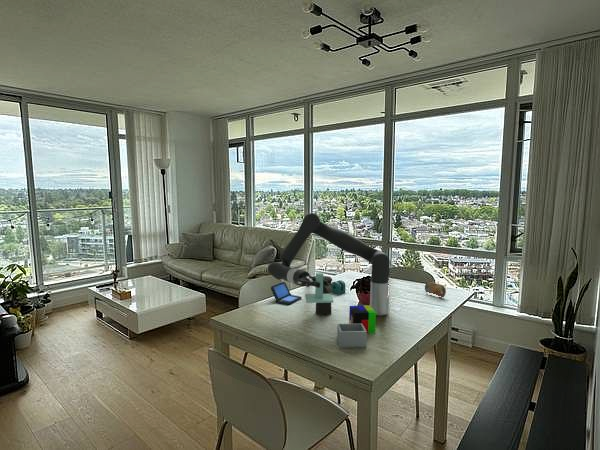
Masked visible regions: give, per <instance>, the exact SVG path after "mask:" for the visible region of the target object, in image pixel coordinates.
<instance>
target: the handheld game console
mask: <svg viewBox="0 0 600 450" xmlns="http://www.w3.org/2000/svg"><path fill="white" fill-rule="evenodd" d="M270 290H271V292H272V294H273V297H274V299H275V303H276V304H281V305H286V306H291V305H292V304H294V303H297V302H299V301H300V300H302V298H303V297H302V296H299V295H294V294H292V293H291V292H290V290H289V288H288V285H287V283H286V281H283V282H282V281H281V282H279V283H277V284H274V285H271V286H270Z"/></svg>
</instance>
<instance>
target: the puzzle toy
mask: <svg viewBox="0 0 600 450" xmlns="http://www.w3.org/2000/svg"><path fill="white" fill-rule="evenodd" d="M376 316H377V315H376V312H375V311H374V310H373V309H372V307H371V306H370V304H368V305H367V304H365V305H349V318H348V319H349V322H348V324H361V323H362V324H363V326H364V328H365V330H366V331H367V334H376V326H377V325H376V323H377V322H376V319H377V317H376Z"/></svg>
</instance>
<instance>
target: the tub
mask: <svg viewBox="0 0 600 450" xmlns="http://www.w3.org/2000/svg"><path fill="white" fill-rule="evenodd" d="M336 325H337V327H336V340H337V342H338V343H337V344H338V346H339V348H340V349H366V348H367V340H368V339H367V337H368V335H367V331H366V330H365V328H364V326H363V324H362V323H361V324H349V323H336Z"/></svg>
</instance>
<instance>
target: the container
mask: <svg viewBox="0 0 600 450" xmlns="http://www.w3.org/2000/svg"><path fill="white" fill-rule="evenodd" d="M323 277H324V280H326V281H328V285H327V286H325V285H323V294H331V295H332V293H331V283H332V282H333V278H332V277H331V276H327V275H323ZM315 314H316V315H319V316H325V317H327V316H330V315H331V314H332V303H315Z"/></svg>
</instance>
